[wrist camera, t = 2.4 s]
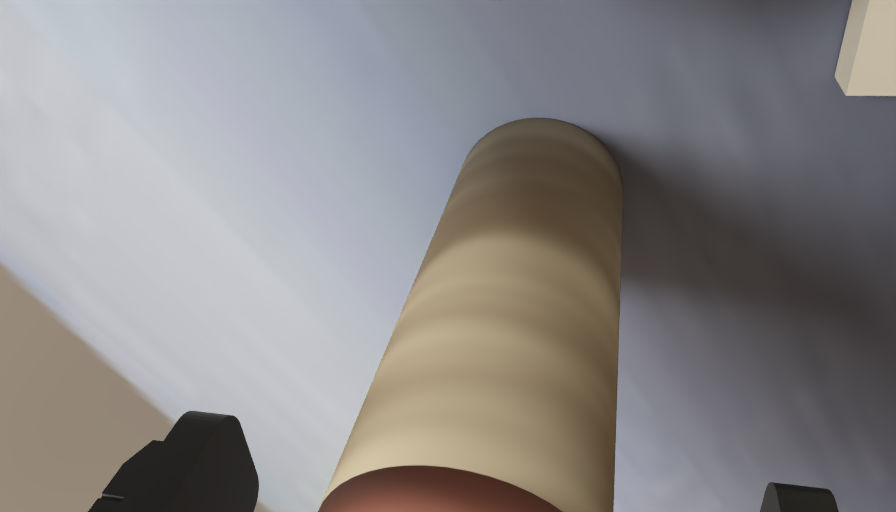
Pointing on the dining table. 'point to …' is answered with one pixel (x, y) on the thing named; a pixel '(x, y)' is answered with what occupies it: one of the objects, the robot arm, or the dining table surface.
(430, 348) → the tall dowel
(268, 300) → the dining table surface
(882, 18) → the socket block
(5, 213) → the dining table surface
